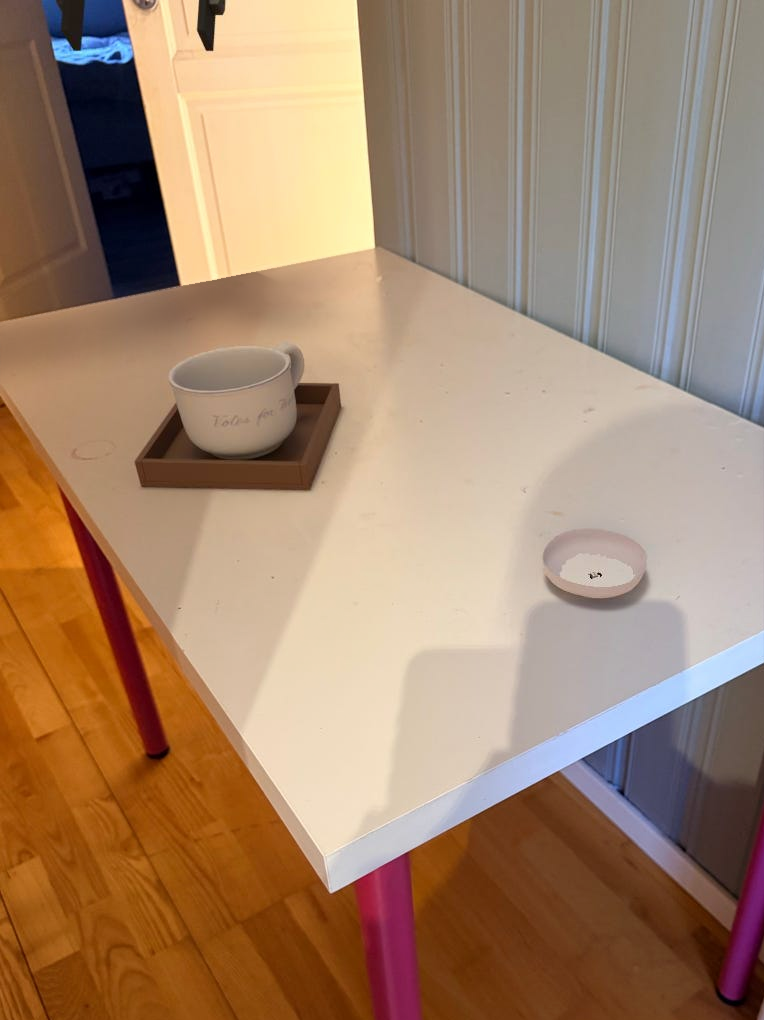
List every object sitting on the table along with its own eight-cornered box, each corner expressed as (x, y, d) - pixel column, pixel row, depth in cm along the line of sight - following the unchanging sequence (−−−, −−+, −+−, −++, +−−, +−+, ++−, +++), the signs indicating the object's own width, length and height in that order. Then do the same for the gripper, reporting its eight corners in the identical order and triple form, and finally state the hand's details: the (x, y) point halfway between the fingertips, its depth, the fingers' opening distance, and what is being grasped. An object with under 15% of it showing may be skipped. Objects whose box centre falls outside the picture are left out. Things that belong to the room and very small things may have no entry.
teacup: (225, 485, 81) (208, 400, 76) (163, 445, 87) (143, 363, 82) (350, 435, 88) (342, 354, 83) (285, 401, 94) (274, 323, 89)
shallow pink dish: (664, 594, 69) (667, 574, 67) (567, 617, 66) (569, 596, 65) (615, 540, 74) (617, 520, 73) (525, 560, 72) (525, 539, 71)
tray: (140, 486, 82) (134, 461, 80) (195, 403, 95) (191, 380, 93) (309, 489, 81) (306, 464, 79) (341, 406, 94) (338, 383, 93)
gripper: (282, -119, 97) (271, 68, 94) (50, -118, 97) (34, 67, 95) (263, -190, 89) (250, 11, 87) (12, -188, 90) (-6, 11, 88)
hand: (137, 41), depth 91 cm, fingers open, 13 cm apart
